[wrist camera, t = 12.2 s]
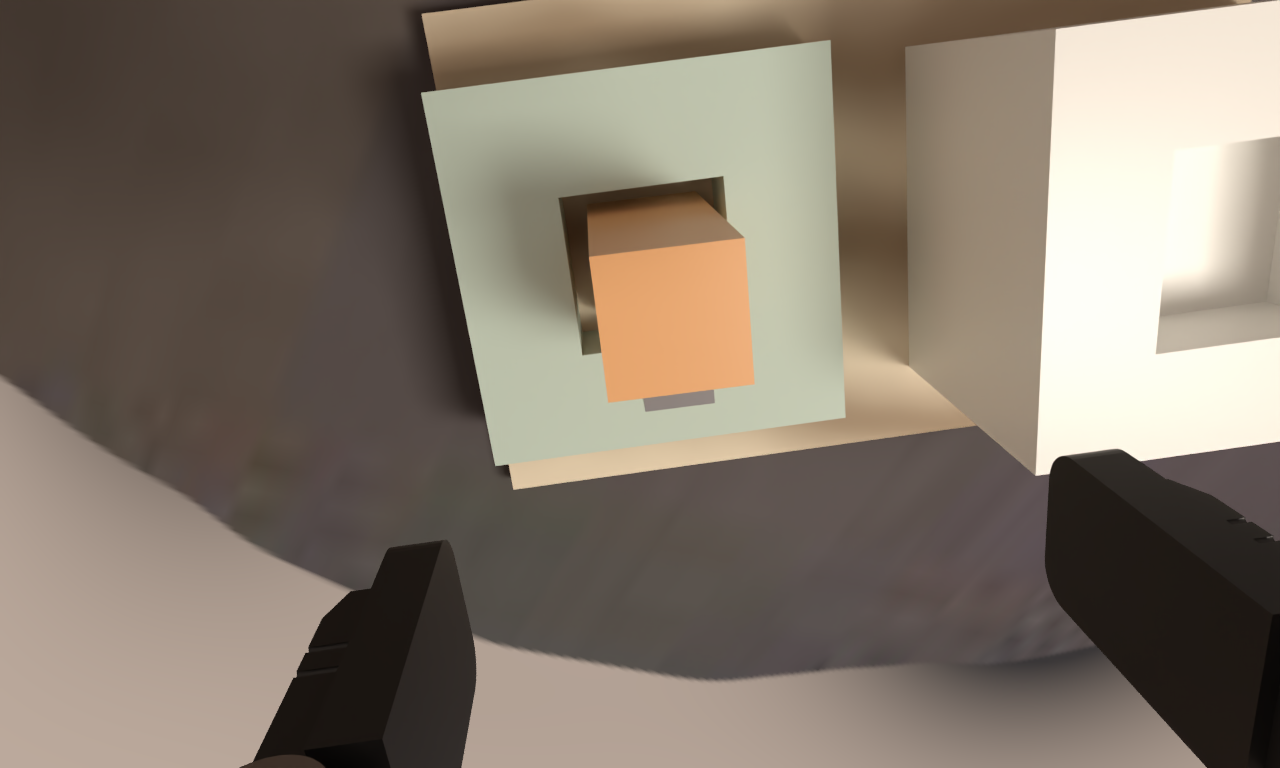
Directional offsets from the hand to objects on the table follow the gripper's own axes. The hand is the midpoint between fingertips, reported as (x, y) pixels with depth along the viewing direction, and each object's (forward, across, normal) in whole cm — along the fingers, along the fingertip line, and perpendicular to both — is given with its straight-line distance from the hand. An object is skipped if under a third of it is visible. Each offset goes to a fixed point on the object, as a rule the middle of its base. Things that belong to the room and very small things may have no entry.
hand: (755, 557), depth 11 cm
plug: (+22, 0, 0) cm, 22 cm away
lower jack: (+22, 0, 0) cm, 22 cm away
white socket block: (+22, -16, 0) cm, 27 cm away
